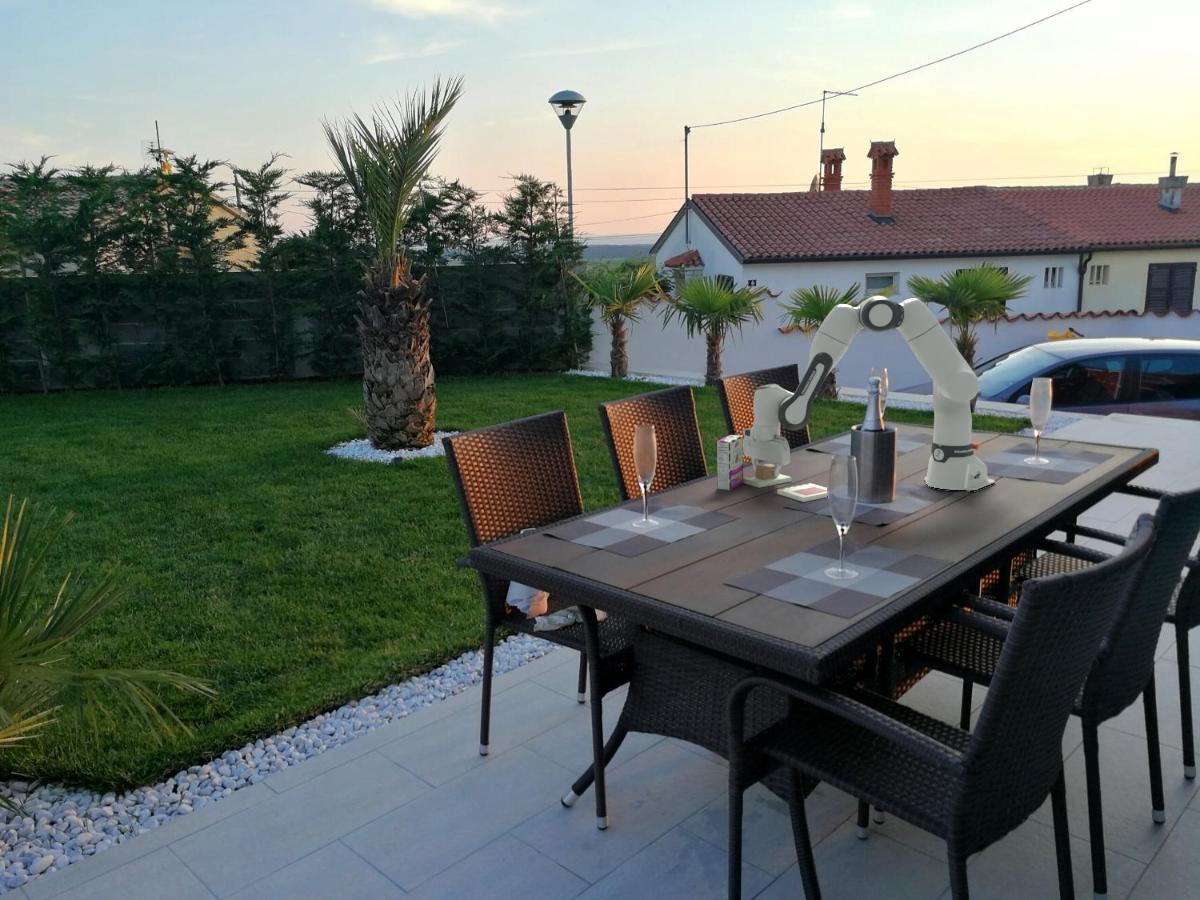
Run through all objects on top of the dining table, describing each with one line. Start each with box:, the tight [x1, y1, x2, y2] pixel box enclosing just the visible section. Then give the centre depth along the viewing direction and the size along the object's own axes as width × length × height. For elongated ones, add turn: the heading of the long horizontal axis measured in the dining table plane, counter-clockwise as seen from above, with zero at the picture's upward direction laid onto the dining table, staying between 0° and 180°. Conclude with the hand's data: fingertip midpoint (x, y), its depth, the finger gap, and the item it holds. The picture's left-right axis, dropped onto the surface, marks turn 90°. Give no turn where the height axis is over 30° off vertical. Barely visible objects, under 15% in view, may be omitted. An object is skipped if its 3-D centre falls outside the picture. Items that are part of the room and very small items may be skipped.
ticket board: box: [776, 482, 828, 503], centre depth 265 cm, size 14×12×2 cm
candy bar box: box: [716, 434, 744, 491], centre depth 276 cm, size 11×5×16 cm, turn 148°
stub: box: [742, 463, 792, 488], centre depth 281 cm, size 14×8×6 cm, turn 119°
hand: (766, 473), depth 281 cm, fingers open, 8 cm apart
